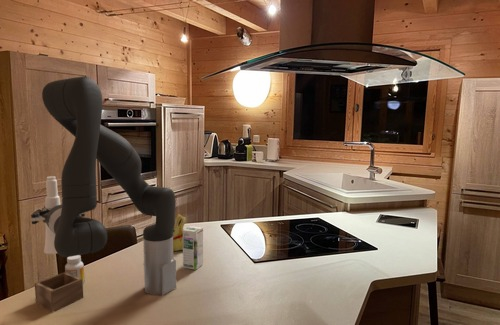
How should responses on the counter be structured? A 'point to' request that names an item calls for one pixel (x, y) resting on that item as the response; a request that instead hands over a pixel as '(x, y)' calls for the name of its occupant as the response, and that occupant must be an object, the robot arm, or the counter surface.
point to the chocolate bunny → (178, 233)
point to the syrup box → (192, 247)
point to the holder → (59, 291)
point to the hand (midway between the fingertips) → (52, 208)
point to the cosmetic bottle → (51, 202)
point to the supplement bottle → (75, 267)
